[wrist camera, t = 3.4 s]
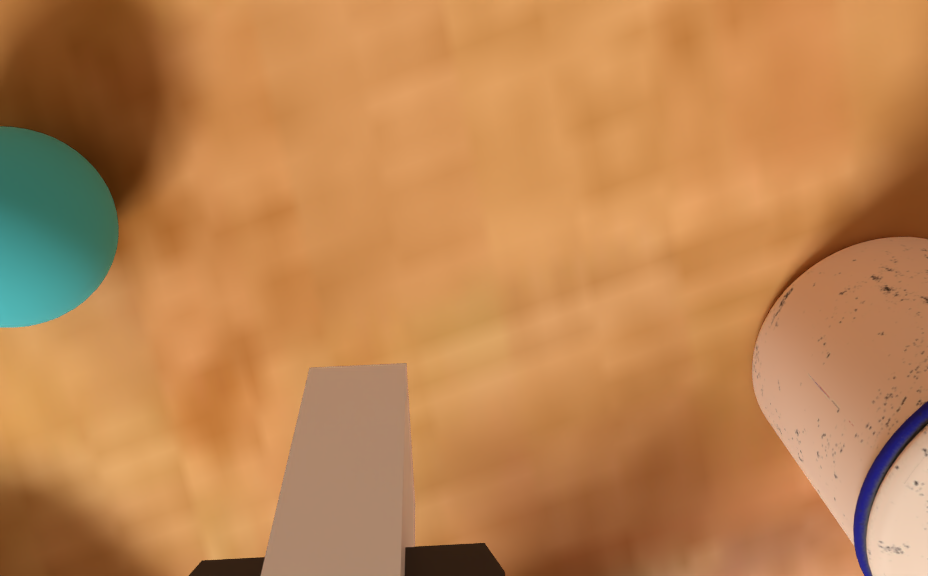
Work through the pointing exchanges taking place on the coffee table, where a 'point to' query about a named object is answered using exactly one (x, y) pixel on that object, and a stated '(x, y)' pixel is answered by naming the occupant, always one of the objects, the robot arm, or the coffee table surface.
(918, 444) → the teacup with lid
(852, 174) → the coffee table surface
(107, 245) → the ball
